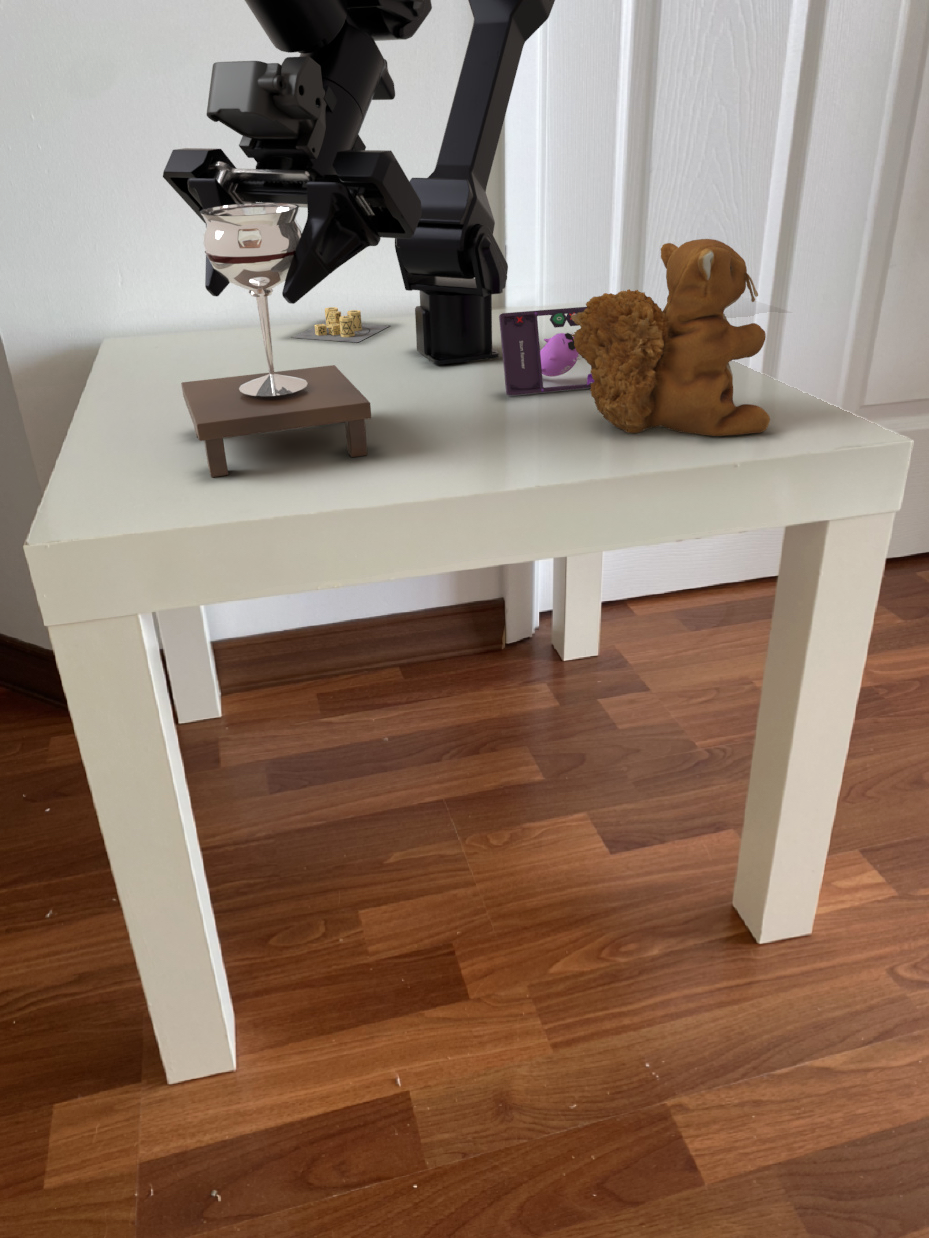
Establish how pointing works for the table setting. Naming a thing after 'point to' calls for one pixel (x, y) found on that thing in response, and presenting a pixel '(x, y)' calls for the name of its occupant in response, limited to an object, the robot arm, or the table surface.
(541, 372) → the game card
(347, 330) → the dice set
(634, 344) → the stuffed squirrel
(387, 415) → the table surface
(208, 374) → the table surface
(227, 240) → the wineglass
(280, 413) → the side table
